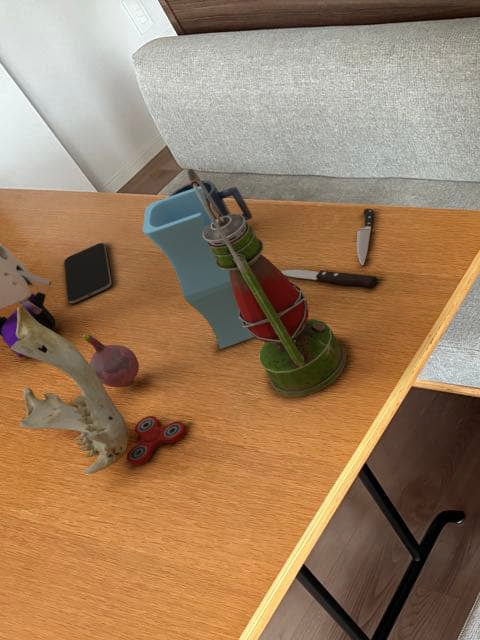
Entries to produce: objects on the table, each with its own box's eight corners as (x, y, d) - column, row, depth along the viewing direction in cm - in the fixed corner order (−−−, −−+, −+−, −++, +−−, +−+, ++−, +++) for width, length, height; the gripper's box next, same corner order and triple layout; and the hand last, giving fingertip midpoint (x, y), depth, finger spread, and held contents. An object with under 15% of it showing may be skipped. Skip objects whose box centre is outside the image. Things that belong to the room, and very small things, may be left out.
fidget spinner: (122, 463, 101) (128, 469, 102) (176, 448, 101) (182, 455, 101) (135, 417, 106) (141, 423, 107) (187, 403, 106) (192, 410, 107)
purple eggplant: (34, 286, 129) (27, 332, 118) (54, 309, 133) (49, 356, 122) (6, 298, 129) (-5, 346, 118) (26, 321, 132) (18, 370, 121)
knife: (352, 266, 120) (365, 267, 121) (352, 262, 120) (365, 264, 120) (361, 211, 130) (373, 212, 131) (361, 207, 130) (373, 208, 130)
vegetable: (128, 366, 116) (85, 316, 109) (159, 371, 114) (118, 319, 107) (101, 397, 113) (55, 347, 106) (132, 403, 110) (88, 351, 103)
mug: (194, 261, 132) (164, 216, 126) (194, 236, 138) (165, 191, 131) (259, 238, 133) (233, 192, 126) (257, 213, 138) (231, 168, 132)
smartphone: (67, 302, 131) (63, 258, 141) (70, 305, 131) (66, 261, 141) (110, 283, 132) (103, 241, 142) (113, 286, 132) (105, 244, 142)
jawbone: (146, 391, 96) (51, 405, 89) (144, 508, 104) (58, 528, 98) (83, 298, 110) (-3, 303, 103) (86, 407, 119) (8, 418, 112)
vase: (272, 330, 115) (201, 215, 101) (220, 349, 115) (141, 236, 100) (270, 298, 120) (202, 185, 106) (220, 316, 120) (145, 204, 106)
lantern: (358, 380, 104) (249, 181, 82) (282, 417, 102) (150, 224, 81) (332, 322, 113) (228, 130, 92) (262, 355, 112) (139, 168, 90)
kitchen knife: (372, 289, 116) (379, 280, 118) (369, 284, 116) (376, 275, 117) (276, 277, 124) (283, 269, 125) (273, 273, 123) (280, 264, 124)
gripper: (12, 208, 117) (89, 302, 130) (-102, 249, 116) (-13, 339, 129) (4, 235, 111) (85, 330, 125) (-116, 278, 110) (-21, 369, 124)
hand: (35, 334), depth 127 cm, fingers closed on purple eggplant, 4 cm apart
